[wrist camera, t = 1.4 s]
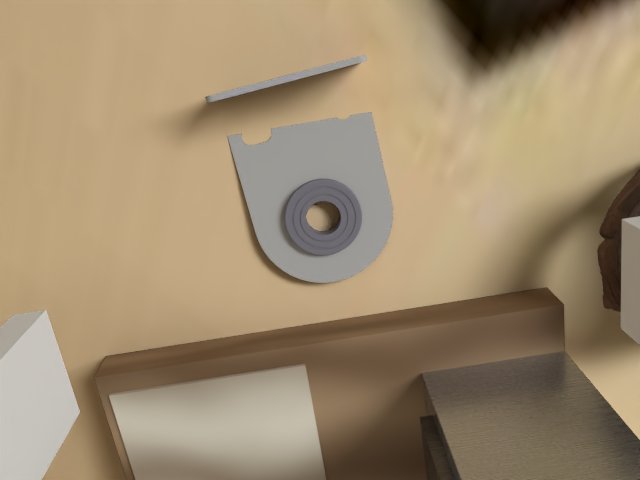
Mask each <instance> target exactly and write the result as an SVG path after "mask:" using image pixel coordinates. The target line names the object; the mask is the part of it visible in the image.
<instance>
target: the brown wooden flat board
mask: <svg viewBox="0 0 640 480" xmlns="http://www.w3.org/2000/svg"><path fill="white" fill-rule="evenodd" d="M560 351H565V342H564V304H563V303H562V302H561V301H560V300H559V299H558V298H557V297H556V296H555V295H554V294H553V293H552V292H551V291H550V290H549V289H548V288H540V289H534V290H527V291H521V292H515V293H508V294H502V295H495V296H489V297H483V298H476V299H470V300H463V301H457V302H450V303H444V304H438V305H431V306H425V307H418V308H412V309H406V310H399V311H393V312H386V313H380V314H374V315H367V316H361V317H354V318H348V319H342V320H335V321H329V322H322V323H316V324H309V325H303V326H297V327H290V328H284V329H277V330H271V331H265V332H258V333H252V334H245V335H239V336H233V337H226V338H220V339H213V340H207V341H200V342H194V343H188V344H181V345H175V346H168V347H162V348H156V349H149V350H143V351H136V352H130V353H124V354H117V355H111V356H106V357H105V359H104V361H103V363H102V364H101V366H100V368H99V370H98V371H97V373H96V375H95V377H94V380H95V383H96V386H97V389H98V392H99V395H100V398H101V401H102V405H103V408H104V411H105V414H106V417H107V420H108V423H109V426H110V429H111V432H112V436H113V439H114V442H115V445H116V448H117V451H118V454H119V457H120V460H121V463H122V467H123V470H124V473H125V476H126V479H127V480H427V478H426V469H425V460H424V451H423V443H422V434H421V425H420V417H423V416H426V407H425V398H424V389H423V380H422V373H425V372H431V371H437V370H444V369H450V368H457V367H463V366H470V365H476V364H483V363H489V362H496V361H502V360H509V359H515V358H521V357H528V356H534V355H541V354H547V353H554V352H560Z"/></svg>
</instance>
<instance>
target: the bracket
mask: <svg viewBox="0 0 640 480" xmlns="http://www.w3.org/2000/svg"><path fill="white" fill-rule="evenodd" d="M365 61H367V58H366V55H362V56H358V57H354V58H351V59H347V60H343V61H339V62H336V63H332V64H328V65H324V66H320V67H317V68H313V69H309V70H305V71H301V72H298V73H294V74H290V75H286V76H282V77H279V78H275V79H271V80H267V81H263V82H260V83H256V84H252V85H248V86H244V87H241V88H237V89H233V90H229V91H225V92H222V93H218V94H214V95H210V96H207V97H205V98H206V101H207V103H209V102H213V101H218V100H221V99H225V98H229V97H231V98H232V97H235V96H239V95H243V94H246V93H250V92H254V91H258V90H261V89H265V88H269V87H273V86H276V85H280V84H284V83H288V82H291V81H295V80H299V79H303V78H306V77H310V76H314V75H318V74H322V73H325V72H329V71H333V70H337V69H340V68H344V67H347V66H351V65H354V64H358V63H362V62H365ZM271 131H272V136H271V138H270V139H269V140H268V141H267V142H263V143H260V144H256V145H247V144H245V143H244V142H243V140H242V137H241V136H242V134H236V135H230V136H227V137H228V140H229V144H230V147H231V151H232V154H233V157H234V161H235V164H236V168H237V171H238V175H239V178H240V181H241V185H242V188H243V192H244V195H245V199H246V202H247V205H248V209H249V212H250V216H251V219H252V223H253V226H254V229H255V233H256V236H257V238H258V241H259V243H260V245H261V247H262V249H263V251H264V252H265V254H266V255H267V256H268V258H269V259H270V260H271V261H272V262H273V263H274V264H275V265H276V266H277V267H279V268H280V269H281V270H282V271H284V272H286V273H288V274H289V275H291V276H293V277H296V278H298V279H301V280H305V281H309V282H316V283H328V282H336V281H340V280H344V279H347V278H349V277H352V276H354V275H356V274H357V273H359V272H361V271H362V270H364V269H365V268H366V267H368V266H369V265H370V264H371V263H372V262H373V261H374V260H375V259H376V258H377V257H378V255H379V254H380V253H381V251H382V250H383V248H384V246H385V245H386V242H387V240H388V237H389V235H390V231H391V227H392V220H393V208H392V201H391V196H390V192H389V187H388V183H387V179H386V174H385V170H384V165H383V161H382V157H381V152H380V148H379V143H378V139H377V134H376V130H375V126H374V121H373V117H372V112H368V113H362V114H356V115H350V117H349V118H347V119H345V120H341V119H338V118H332V119H326V120H320V121H314V122H308V123H302V124H296V125H290V126H284V127H278V128H272V129H271ZM319 201H328V202H331V203H333V204H334V205H335V206H336V207H337V208H338V209H339V211H340V219H339V222H338V223H337V225H336V226H335V227H334V228H332V229H331V230H328V231H317V230H315V229H313V228H312V227H311V226H310V225H309V224H308V222H307V220H306V214H307V211H308V209H309V208H310V207H311V206H312V205H313V204H315V203H316V202H319Z"/></svg>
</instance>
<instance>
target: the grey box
mask: <svg viewBox="0 0 640 480" xmlns="http://www.w3.org/2000/svg"><path fill="white" fill-rule="evenodd" d="M422 380H423V389H424V398H425V407H426V416H423V417H420V425H421V434H422V443H423V451H424V460H425V469H426V478H427V480H640V440H639V439H638V438H637V436H636V435H635V434H634V433H633V432H632V430H631V429H630V428H629V427H628V426H627V425H626V423H625V422H624V421H623V420H622V419H621V417H620V416H619V415H618V414H617V413H616V411H615V410H614V409H613V408H612V407H611V405H610V404H609V403H608V402H607V401H606V400H605V398H604V397H603V396H602V395H601V394H600V392H599V391H598V390H597V389H596V388H595V386H594V385H593V384H592V383H591V382H590V380H589V379H588V378H587V377H586V376H585V374H584V373H583V372H582V371H581V370H580V369H579V367H578V366H577V365H576V364H575V363H574V361H573V360H572V359H571V358H570V357H569V355H568V354H567V353H566V352H565V351H560V352H554V353H547V354H541V355H534V356H528V357H521V358H515V359H509V360H502V361H496V362H489V363H483V364H476V365H470V366H463V367H457V368H450V369H444V370H437V371H431V372H425V373H422Z"/></svg>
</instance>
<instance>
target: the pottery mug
mask: <svg viewBox="0 0 640 480" xmlns="http://www.w3.org/2000/svg"><path fill="white" fill-rule="evenodd" d="M638 216H640V170H639V171H638V172H637V174H636V175H635V176H634V177H633V178H632V179H631V180H630V181H629V182H628V183H627V185H626V186H625V187H624V188H623V189H622V191H621V192H620V194H619V195H618V196H617V197H616V199H615V200H614V202H613V203H612V205H611V207H610V208H609V210H608V212H607V215H606V217H605V219H604V221H603V223H602V225H601V228H600V235H601V236H602V237H603V238H605V240H604V241H603V242H602V243H601V244H600V245H599V247H598V262H599V266H600V270H601V275H602V281H603V292H604V294H603V304H604V307H605V308H606V309H613V310H615V311H620V312H621V250H622V219H625V218H632V217H638Z"/></svg>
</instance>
